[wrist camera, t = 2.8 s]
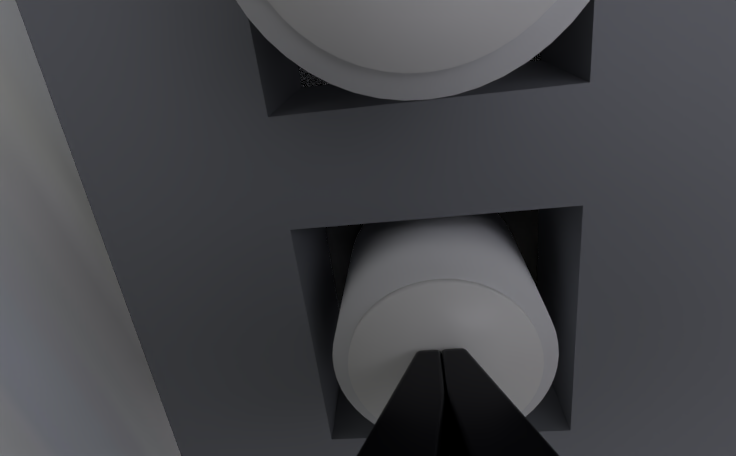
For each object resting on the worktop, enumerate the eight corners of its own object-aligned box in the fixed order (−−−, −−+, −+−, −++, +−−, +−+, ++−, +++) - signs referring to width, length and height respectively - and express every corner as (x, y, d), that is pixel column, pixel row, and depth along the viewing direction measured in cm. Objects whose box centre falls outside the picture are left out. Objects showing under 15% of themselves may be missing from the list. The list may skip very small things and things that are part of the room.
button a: (361, 339, 13) (347, 455, 10) (340, 197, 12) (314, 277, 8) (517, 330, 13) (558, 448, 10) (517, 181, 11) (566, 259, 8)
